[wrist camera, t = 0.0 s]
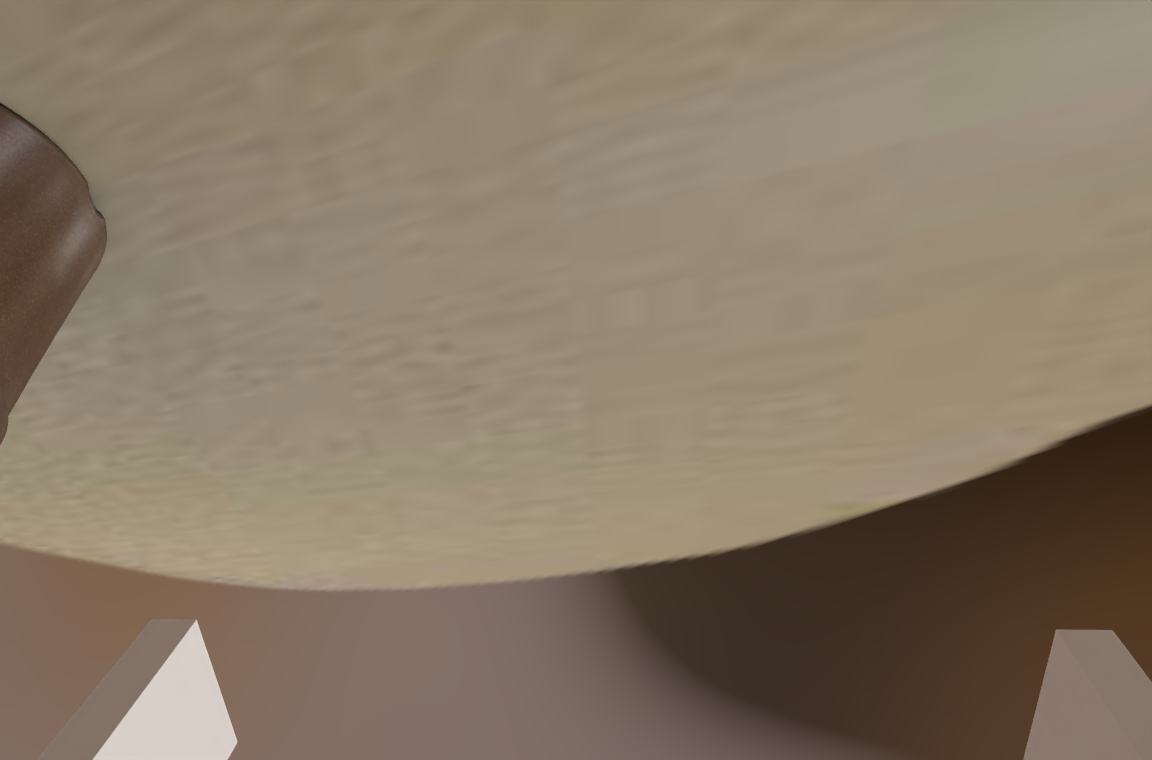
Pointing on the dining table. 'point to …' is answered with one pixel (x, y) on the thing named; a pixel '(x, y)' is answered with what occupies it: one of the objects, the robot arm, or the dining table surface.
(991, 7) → the dining table surface
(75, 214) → the plant pot
